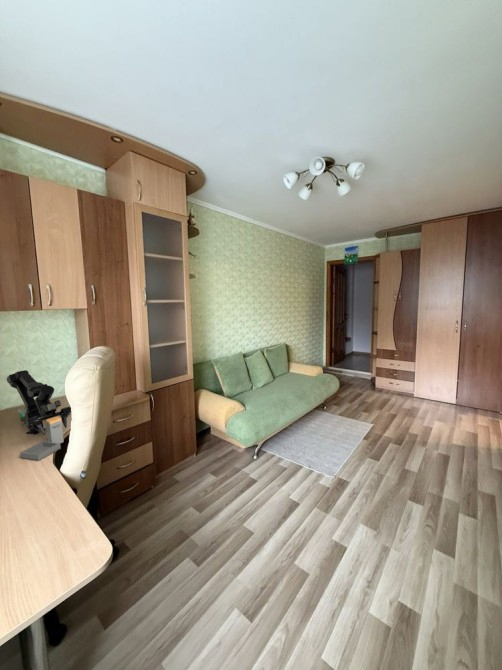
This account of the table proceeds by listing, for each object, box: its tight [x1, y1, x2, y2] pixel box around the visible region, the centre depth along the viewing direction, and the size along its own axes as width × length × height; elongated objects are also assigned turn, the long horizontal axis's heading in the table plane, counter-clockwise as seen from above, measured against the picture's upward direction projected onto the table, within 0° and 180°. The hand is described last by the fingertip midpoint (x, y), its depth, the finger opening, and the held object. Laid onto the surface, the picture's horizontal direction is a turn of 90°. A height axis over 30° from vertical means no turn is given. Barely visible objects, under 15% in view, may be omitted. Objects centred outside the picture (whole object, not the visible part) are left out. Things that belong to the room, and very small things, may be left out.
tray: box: [19, 440, 62, 462], centre depth 126 cm, size 11×11×3 cm
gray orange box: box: [45, 416, 64, 444], centre depth 135 cm, size 6×5×12 cm
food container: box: [17, 407, 27, 425], centre depth 161 cm, size 12×6×10 cm, turn 168°
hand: (55, 430), depth 134 cm, fingers open, 9 cm apart
